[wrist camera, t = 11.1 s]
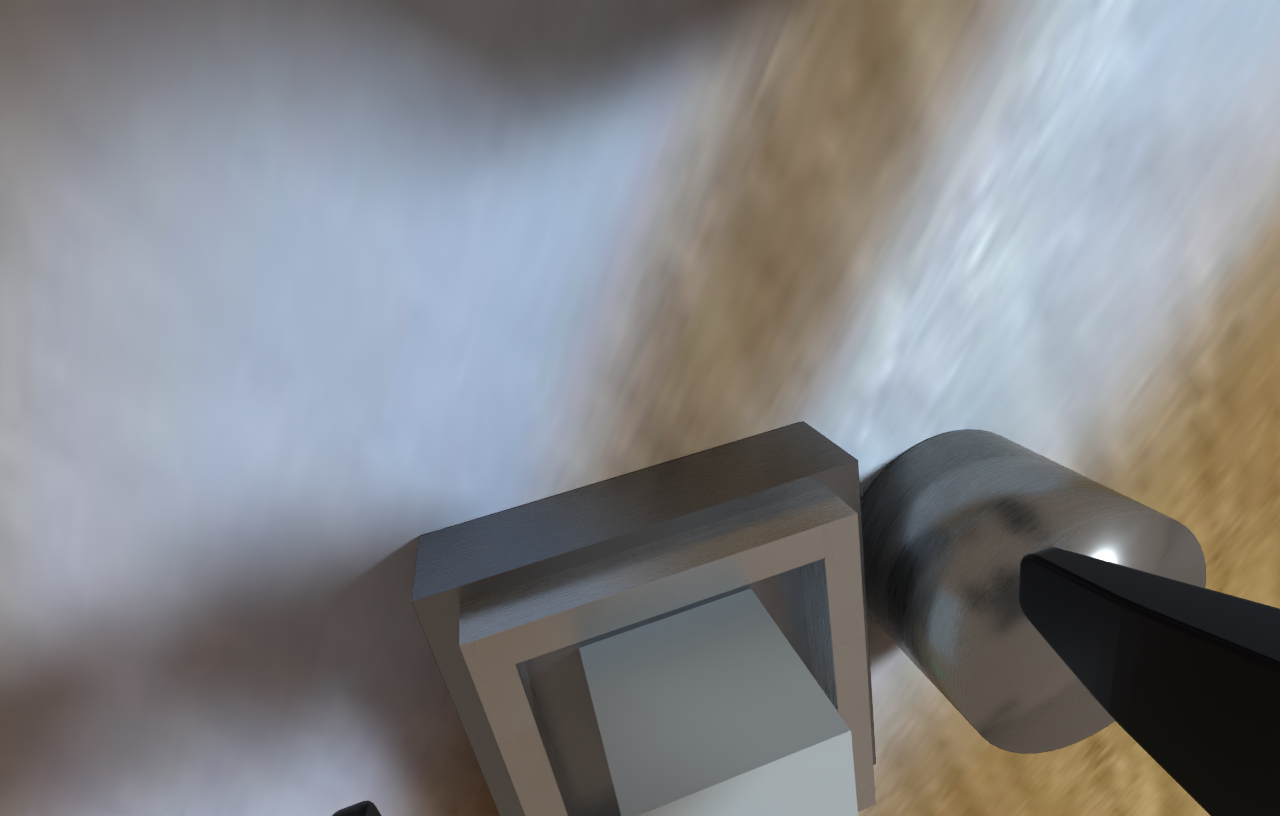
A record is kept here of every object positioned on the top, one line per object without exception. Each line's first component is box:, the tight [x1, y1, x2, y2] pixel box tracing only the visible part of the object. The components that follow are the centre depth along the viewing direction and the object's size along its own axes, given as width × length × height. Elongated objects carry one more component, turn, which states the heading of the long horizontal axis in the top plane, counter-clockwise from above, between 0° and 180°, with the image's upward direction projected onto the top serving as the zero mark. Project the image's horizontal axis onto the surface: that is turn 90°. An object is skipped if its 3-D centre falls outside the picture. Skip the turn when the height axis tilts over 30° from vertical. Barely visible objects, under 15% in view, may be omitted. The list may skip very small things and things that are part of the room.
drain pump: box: [579, 589, 858, 816], centre depth 16 cm, size 5×6×6 cm
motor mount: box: [412, 421, 1206, 816], centre depth 19 cm, size 21×12×6 cm, turn 101°
